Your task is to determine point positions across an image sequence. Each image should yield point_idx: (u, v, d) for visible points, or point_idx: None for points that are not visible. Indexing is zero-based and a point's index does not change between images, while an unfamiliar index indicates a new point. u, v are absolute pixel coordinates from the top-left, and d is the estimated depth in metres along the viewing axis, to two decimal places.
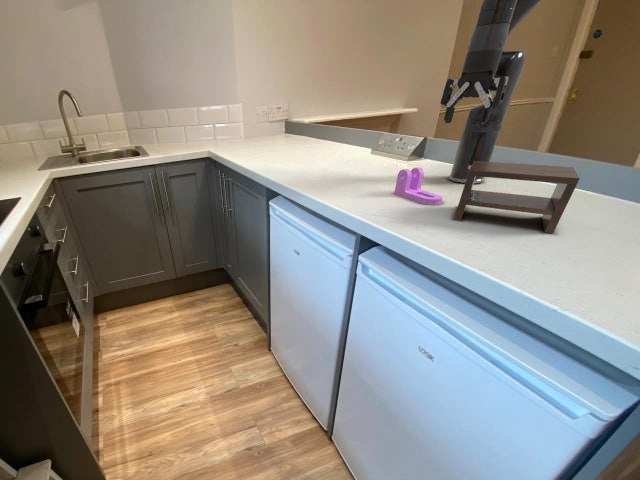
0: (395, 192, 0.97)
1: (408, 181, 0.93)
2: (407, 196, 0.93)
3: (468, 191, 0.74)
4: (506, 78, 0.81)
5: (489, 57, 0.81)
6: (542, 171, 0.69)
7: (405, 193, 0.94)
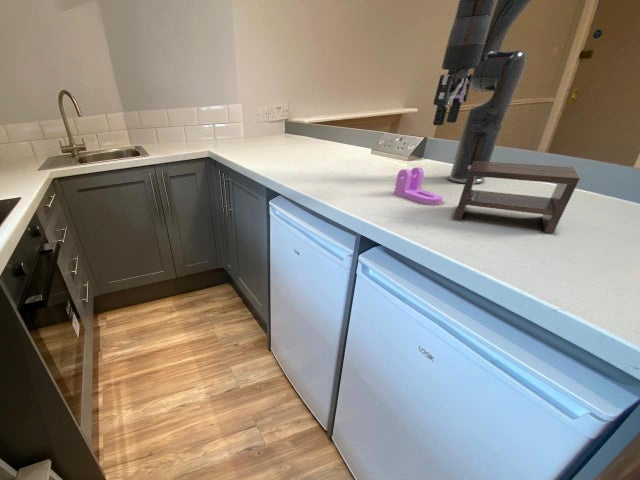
0: (395, 192, 0.97)
1: (408, 181, 0.93)
2: (407, 196, 0.93)
3: (468, 191, 0.74)
4: (444, 76, 0.77)
5: (446, 54, 0.78)
6: (542, 171, 0.69)
7: (405, 193, 0.94)
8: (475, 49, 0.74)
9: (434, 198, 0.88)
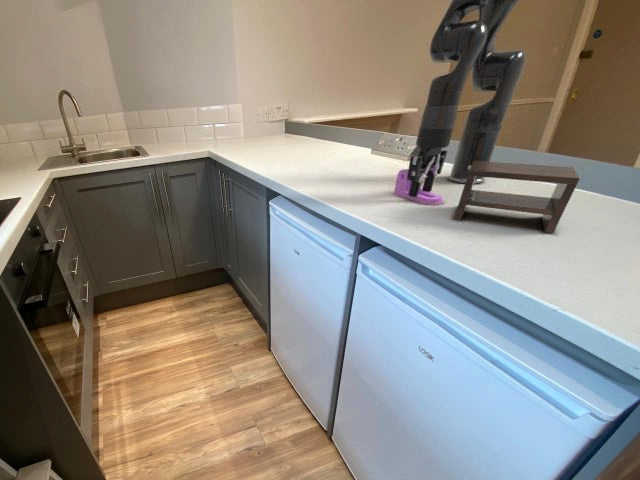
0: (395, 192, 0.97)
1: (408, 181, 0.93)
2: (407, 196, 0.93)
3: (468, 191, 0.74)
4: (413, 158, 0.84)
5: (418, 134, 0.85)
6: (542, 171, 0.69)
7: (405, 193, 0.94)
8: (443, 133, 0.81)
9: (434, 198, 0.88)
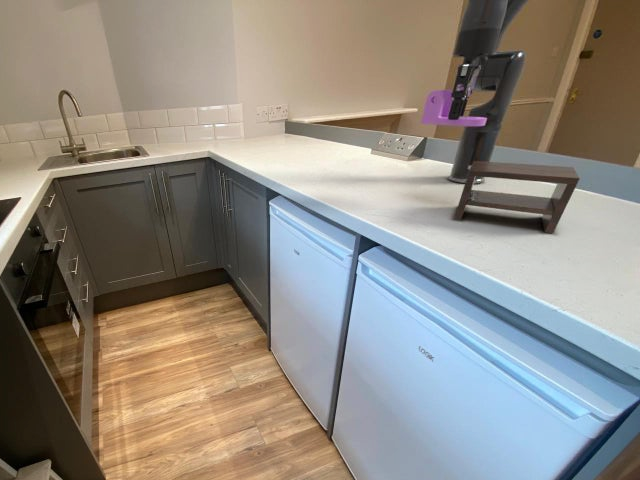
0: (423, 121, 0.83)
1: (442, 104, 0.79)
2: (442, 122, 0.79)
3: (468, 191, 0.74)
4: (463, 66, 0.70)
5: (460, 39, 0.71)
6: (542, 171, 0.69)
7: (439, 119, 0.80)
8: (494, 33, 0.68)
9: (480, 118, 0.75)
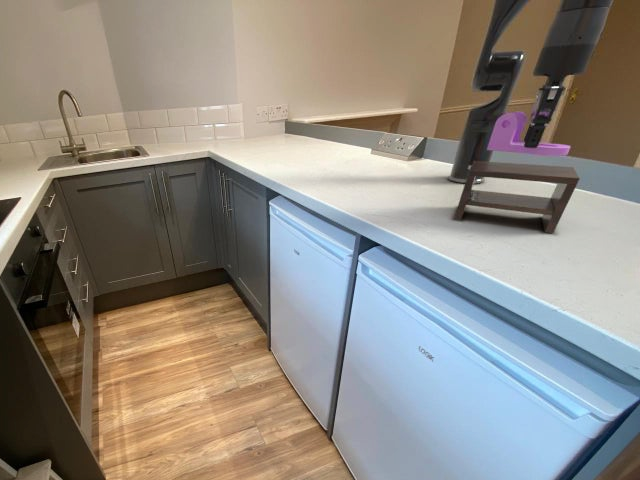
0: (489, 147, 0.72)
1: (515, 129, 0.69)
2: (515, 149, 0.69)
3: (468, 191, 0.74)
4: (551, 89, 0.60)
5: (546, 57, 0.61)
6: (542, 171, 0.69)
7: (511, 146, 0.70)
8: (590, 50, 0.58)
9: (563, 147, 0.65)
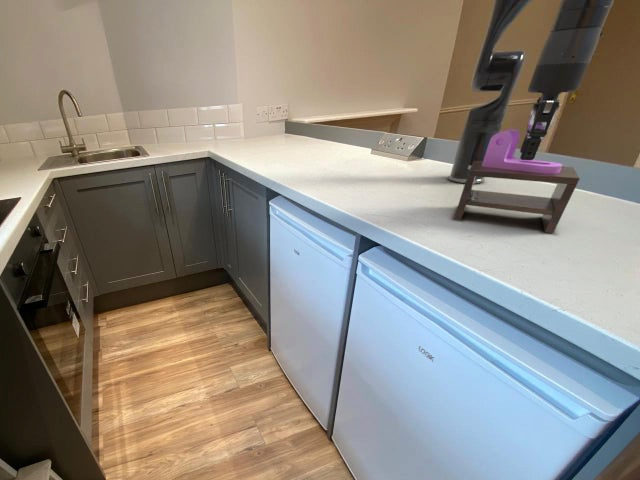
0: (484, 164, 0.74)
1: (509, 147, 0.70)
2: (509, 167, 0.71)
3: (468, 191, 0.74)
4: (546, 102, 0.61)
5: (540, 74, 0.62)
6: None
7: (505, 163, 0.71)
8: (583, 69, 0.60)
9: (555, 165, 0.67)
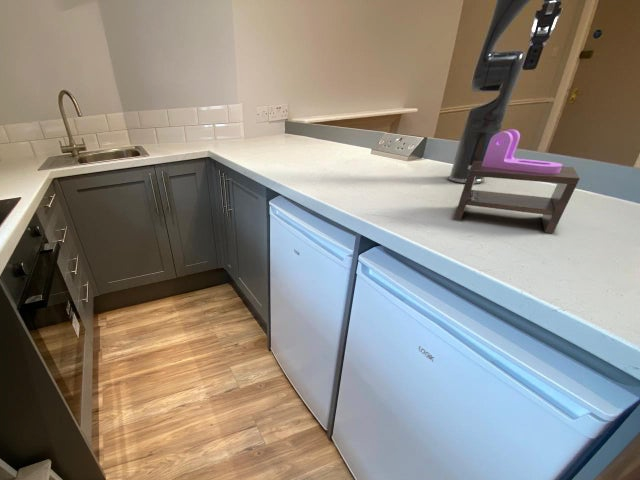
0: (484, 164, 0.74)
1: (509, 147, 0.70)
2: (509, 167, 0.71)
3: (468, 191, 0.74)
4: (549, 3, 0.61)
5: None
6: None
7: (505, 163, 0.71)
8: None
9: (555, 165, 0.67)
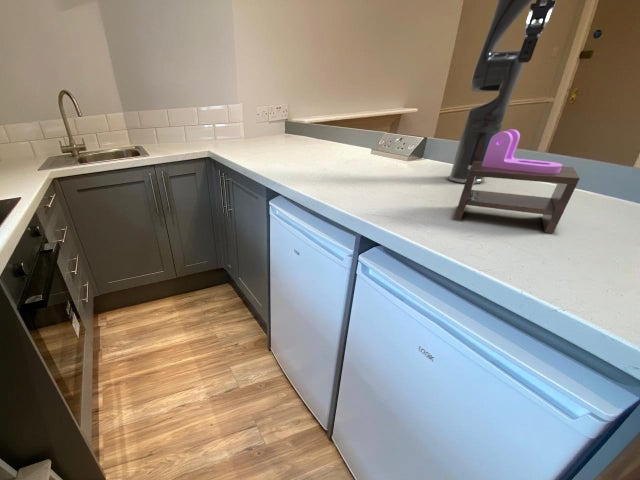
0: (484, 164, 0.74)
1: (509, 147, 0.70)
2: (509, 167, 0.71)
3: (468, 191, 0.74)
4: None
5: None
6: None
7: (505, 163, 0.71)
8: None
9: (555, 165, 0.67)
